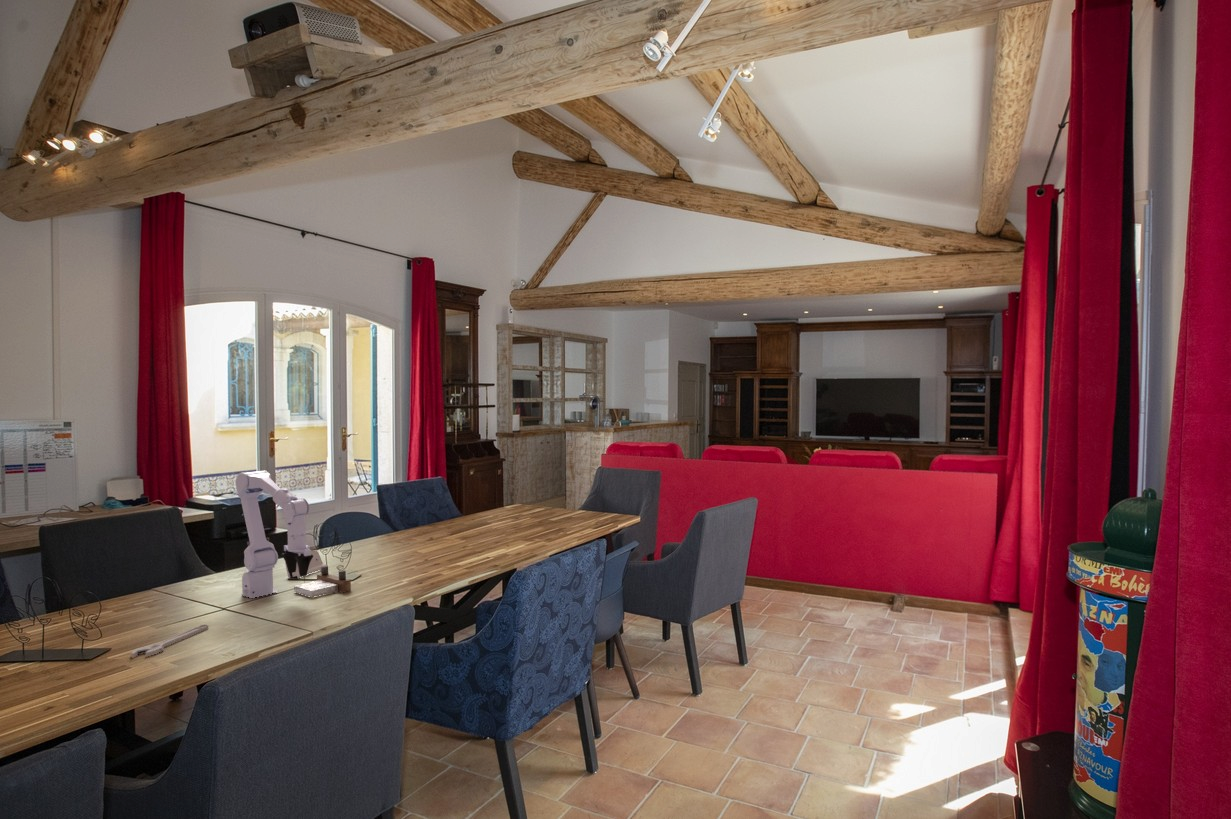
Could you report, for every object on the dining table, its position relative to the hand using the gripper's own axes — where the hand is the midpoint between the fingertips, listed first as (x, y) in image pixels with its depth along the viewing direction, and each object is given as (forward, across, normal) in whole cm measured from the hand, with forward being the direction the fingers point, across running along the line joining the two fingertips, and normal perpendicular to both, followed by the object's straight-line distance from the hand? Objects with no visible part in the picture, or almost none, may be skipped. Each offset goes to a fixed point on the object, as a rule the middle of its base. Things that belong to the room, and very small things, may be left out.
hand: (297, 574), depth 242 cm
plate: (+10, +6, -10) cm, 15 cm away
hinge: (+10, +36, -22) cm, 43 cm away
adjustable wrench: (+10, -11, +42) cm, 45 cm away
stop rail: (+9, +6, -16) cm, 20 cm away
